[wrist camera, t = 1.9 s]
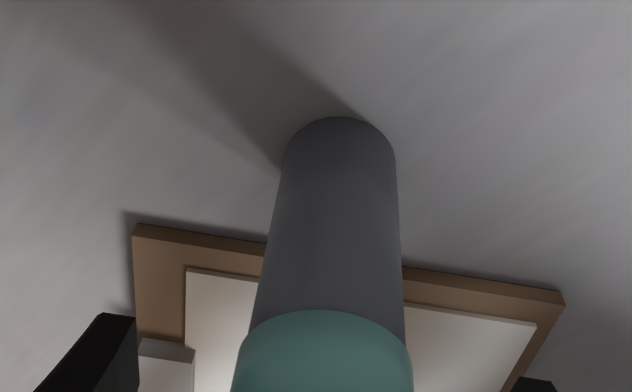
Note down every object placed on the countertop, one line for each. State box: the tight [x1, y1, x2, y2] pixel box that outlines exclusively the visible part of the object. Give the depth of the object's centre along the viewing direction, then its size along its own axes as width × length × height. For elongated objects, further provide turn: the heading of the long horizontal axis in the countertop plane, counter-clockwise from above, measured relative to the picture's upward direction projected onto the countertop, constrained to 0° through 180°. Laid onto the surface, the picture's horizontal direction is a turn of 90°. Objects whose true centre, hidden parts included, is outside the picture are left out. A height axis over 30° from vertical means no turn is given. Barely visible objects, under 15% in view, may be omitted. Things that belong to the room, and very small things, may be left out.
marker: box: [230, 117, 414, 392], centre depth 14 cm, size 3×3×8 cm
